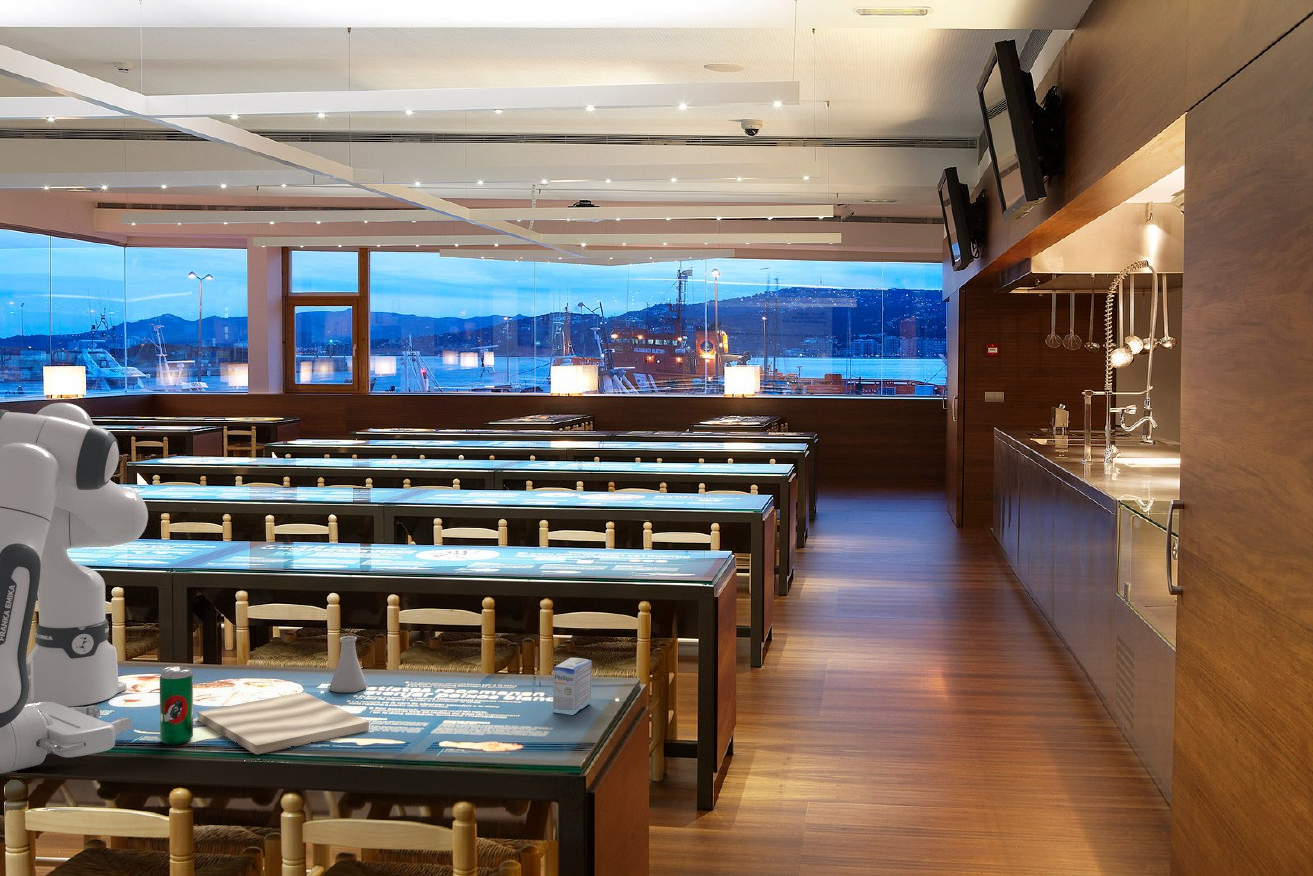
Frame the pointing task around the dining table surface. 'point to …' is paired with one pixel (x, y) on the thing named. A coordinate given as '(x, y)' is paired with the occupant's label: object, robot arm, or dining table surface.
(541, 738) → the dining table surface
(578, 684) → the medicine box
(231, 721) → the birch board
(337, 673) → the flask
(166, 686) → the soda can
